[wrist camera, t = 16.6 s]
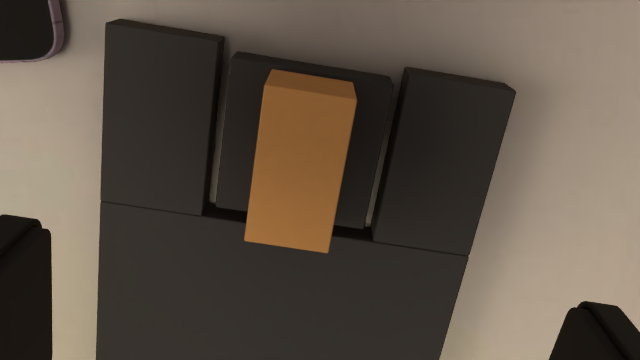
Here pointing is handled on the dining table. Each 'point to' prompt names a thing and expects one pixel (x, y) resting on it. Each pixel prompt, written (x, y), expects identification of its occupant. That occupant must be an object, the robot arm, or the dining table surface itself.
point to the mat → (269, 260)
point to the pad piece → (300, 148)
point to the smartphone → (30, 30)
